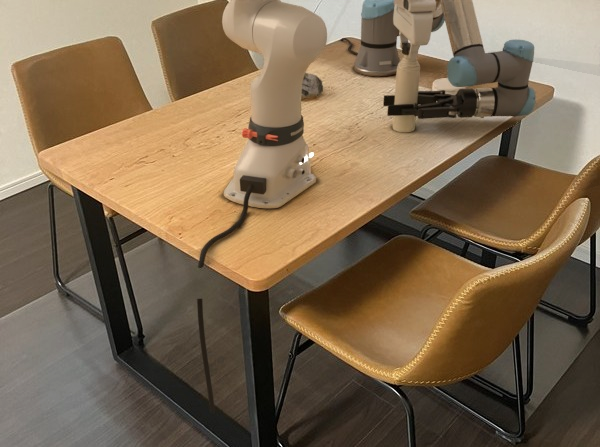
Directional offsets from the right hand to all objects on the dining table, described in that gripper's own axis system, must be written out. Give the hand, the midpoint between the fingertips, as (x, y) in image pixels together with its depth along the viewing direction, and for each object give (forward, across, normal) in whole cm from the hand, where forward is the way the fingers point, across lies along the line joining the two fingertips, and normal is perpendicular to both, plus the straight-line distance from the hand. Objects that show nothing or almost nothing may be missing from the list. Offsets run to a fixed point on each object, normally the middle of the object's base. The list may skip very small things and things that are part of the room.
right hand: (386, 105), depth 162 cm
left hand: (-5, 0, +14) cm, 14 cm away
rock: (+22, +28, -6) cm, 36 cm away
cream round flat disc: (-23, +23, -6) cm, 33 cm away
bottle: (-5, 0, -6) cm, 8 cm away
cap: (-5, 0, +15) cm, 16 cm away
